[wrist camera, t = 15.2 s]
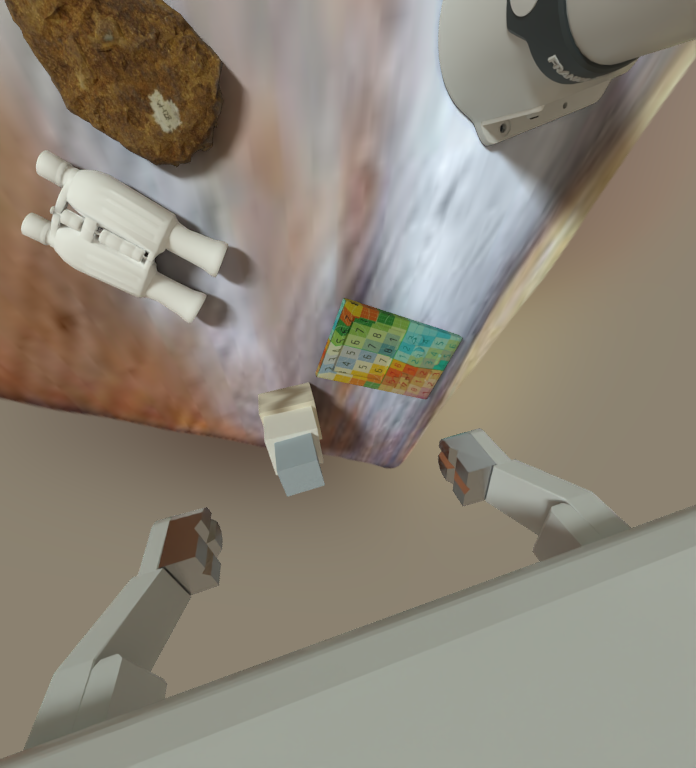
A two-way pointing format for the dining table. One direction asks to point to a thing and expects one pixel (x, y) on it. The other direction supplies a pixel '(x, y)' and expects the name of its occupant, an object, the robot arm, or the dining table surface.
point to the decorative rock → (128, 71)
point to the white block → (290, 429)
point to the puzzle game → (385, 351)
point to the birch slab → (288, 402)
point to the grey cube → (298, 464)
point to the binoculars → (120, 236)
